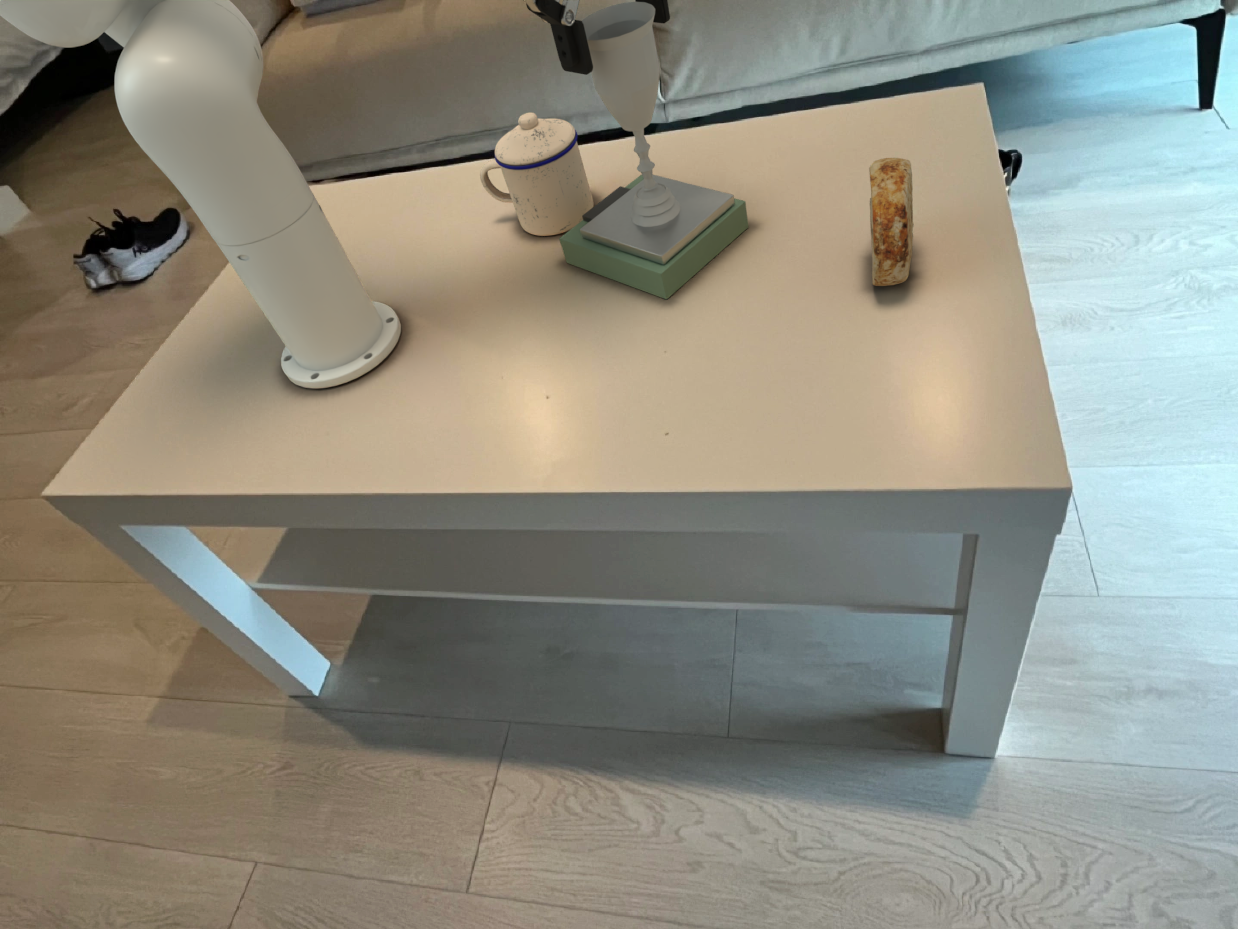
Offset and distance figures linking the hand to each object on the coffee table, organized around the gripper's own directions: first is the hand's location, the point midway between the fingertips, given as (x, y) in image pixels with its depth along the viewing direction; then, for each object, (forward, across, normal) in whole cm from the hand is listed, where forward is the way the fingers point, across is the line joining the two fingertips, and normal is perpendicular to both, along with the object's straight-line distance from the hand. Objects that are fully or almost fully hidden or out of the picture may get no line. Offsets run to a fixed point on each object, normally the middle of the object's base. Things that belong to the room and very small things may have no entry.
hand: (617, 45), depth 69 cm
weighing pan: (+17, 0, 0) cm, 17 cm away
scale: (+20, 0, -1) cm, 20 cm away
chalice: (+16, 0, 0) cm, 16 cm away
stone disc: (+20, -6, +22) cm, 31 cm away
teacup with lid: (+20, +1, -17) cm, 26 cm away
